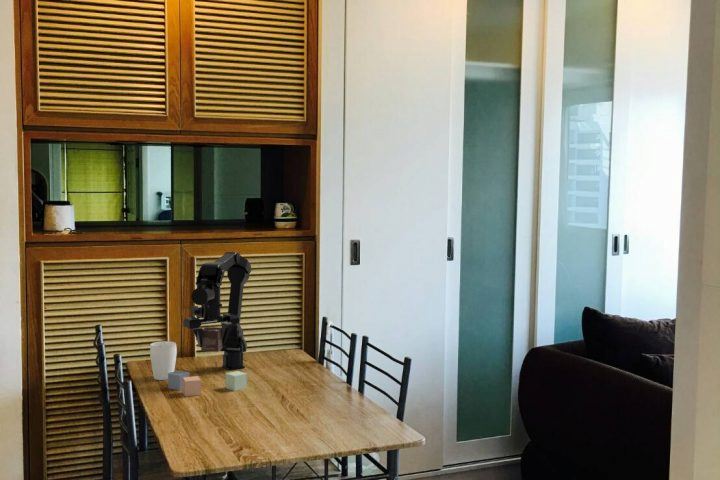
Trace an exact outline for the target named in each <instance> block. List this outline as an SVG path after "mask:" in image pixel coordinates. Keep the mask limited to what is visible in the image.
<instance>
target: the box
mask: <svg viewBox="0 0 720 480" xmlns="http://www.w3.org/2000/svg"><path fill="white" fill-rule="evenodd" d="M200 348H201V349H200V350H201V352H217V353H219V352H221V351H220V350H221V349H222V348H223V339H222V327H216V326H215V327H214V326H213V327H212V326H206V327H204V328H203V335H202V347H200Z"/></svg>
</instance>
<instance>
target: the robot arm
mask: <svg viewBox="0 0 720 480" xmlns="http://www.w3.org/2000/svg"><path fill="white" fill-rule="evenodd" d="M225 272H226V273H227V275H226V277H227V278H228V280H229V283H230V289H229V298H228V299H229V300H228V308H227V313H223V314H222V315H221V308H222V307H223V304H222V303H221V286H222V285H223V284H222V282H223V279H224V277H225ZM251 272H252V265H251V263H250V262H249V260H248V259H247V258H246V257H243V256H242V255H241V253H239V252H238V251H226V252H224V254H223V255H221V256H220V257H218V258H217V259H216V260H214V261H212V262H211V261H210V262H205V263H202V265H200V268H199V271H198V274H197V276H196V281H195V285H196V288H195V289H193V291H192V293H191V294H190V295H191V300H192V302H193V303H194V304H195V305H193V306H191V308H190V312H191V313H190V315H191V316H192V317H184V319H183V321H182V323H183V324H182V326H183V327H184V328H187V329H189V330H191V331H192V332H193V333H194V336H195V339H196V341H197V344H198V347H199V348H201V347H202V335H203V329H204V328H202V327H201V326H202V325H207V324H217V323H220V325H221V328H222V339H223V348H222V349H221V350H220V351H219V352H223V355H222V365H221V367H223V368H224V369H227V370H229V371H232V370H237V369H245V368H246V366H245V365H244V353H245V352H247V348H248V347H247V346H248V344H247V341H246V339H245V337H244V330H243V329H242V326H241V316H242V307H243V306H242V305H243V296H244V295H243V294H244V286H245V284H246V283H247V281H249V279H250V274H251ZM199 306H200V307H199Z"/></svg>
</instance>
